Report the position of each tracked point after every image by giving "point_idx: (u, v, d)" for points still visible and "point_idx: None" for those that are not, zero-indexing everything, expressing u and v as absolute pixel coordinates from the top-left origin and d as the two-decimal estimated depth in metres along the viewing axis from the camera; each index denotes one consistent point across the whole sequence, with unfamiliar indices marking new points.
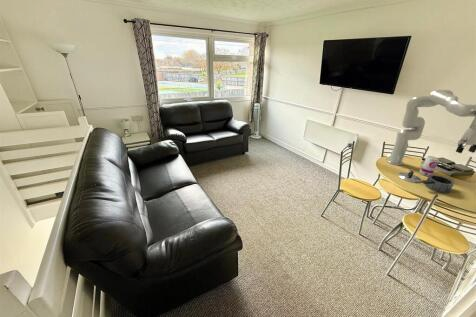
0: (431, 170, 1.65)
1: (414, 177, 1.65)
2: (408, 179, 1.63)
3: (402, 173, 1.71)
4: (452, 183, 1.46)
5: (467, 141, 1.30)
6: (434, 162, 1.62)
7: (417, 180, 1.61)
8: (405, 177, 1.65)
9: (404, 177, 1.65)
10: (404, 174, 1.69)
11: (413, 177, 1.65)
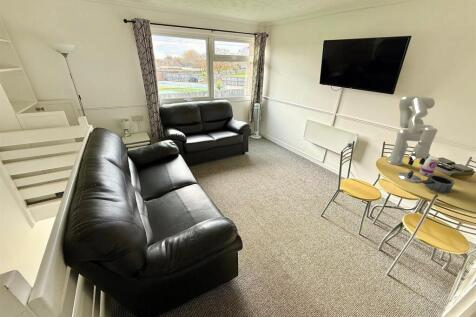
0: (431, 170, 1.65)
1: (414, 177, 1.65)
2: (408, 179, 1.63)
3: (402, 173, 1.71)
4: (452, 183, 1.46)
5: (415, 155, 1.54)
6: (434, 162, 1.62)
7: (417, 180, 1.61)
8: (405, 177, 1.65)
9: (404, 177, 1.65)
10: (404, 174, 1.69)
11: (413, 177, 1.65)
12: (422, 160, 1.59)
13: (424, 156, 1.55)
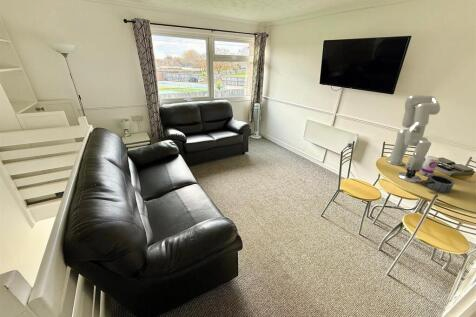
0: (431, 170, 1.65)
1: (414, 177, 1.65)
2: (408, 178, 1.62)
3: (402, 173, 1.70)
4: (452, 183, 1.46)
5: (410, 168, 1.60)
6: (434, 162, 1.62)
7: (417, 180, 1.61)
8: (405, 177, 1.65)
9: (404, 177, 1.65)
10: (405, 174, 1.69)
11: (413, 177, 1.65)
12: None
13: (418, 167, 1.59)
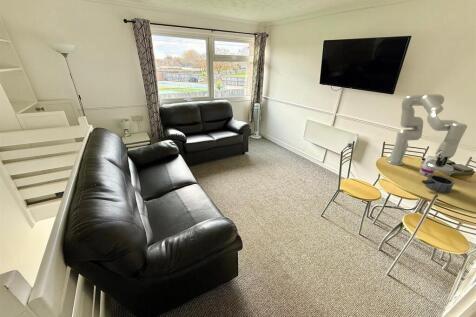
0: (431, 170, 1.65)
1: (445, 165, 1.48)
2: (439, 167, 1.46)
3: (431, 161, 1.54)
4: (452, 183, 1.46)
5: (441, 155, 1.43)
6: None
7: (449, 168, 1.44)
8: (435, 165, 1.48)
9: (434, 165, 1.48)
10: (434, 162, 1.52)
11: None
12: None
13: (451, 154, 1.43)
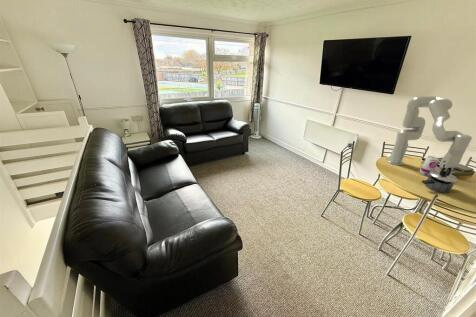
0: (431, 170, 1.65)
1: (449, 176, 1.48)
2: (443, 177, 1.46)
3: (434, 171, 1.54)
4: (452, 183, 1.46)
5: (446, 166, 1.43)
6: (434, 162, 1.62)
7: (453, 179, 1.44)
8: (439, 176, 1.48)
9: (438, 176, 1.48)
10: (438, 172, 1.52)
11: (448, 176, 1.48)
12: None
13: (455, 165, 1.43)
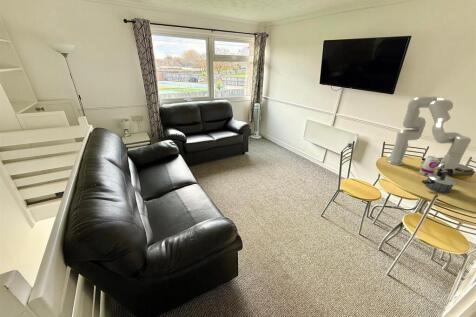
0: (431, 170, 1.65)
1: (447, 178, 1.50)
2: (441, 180, 1.47)
3: (433, 174, 1.55)
4: None
5: (445, 166, 1.43)
6: (434, 162, 1.62)
7: (451, 182, 1.46)
8: (437, 178, 1.49)
9: (436, 178, 1.49)
10: (436, 175, 1.53)
11: (446, 178, 1.50)
12: (450, 171, 1.48)
13: (454, 167, 1.43)
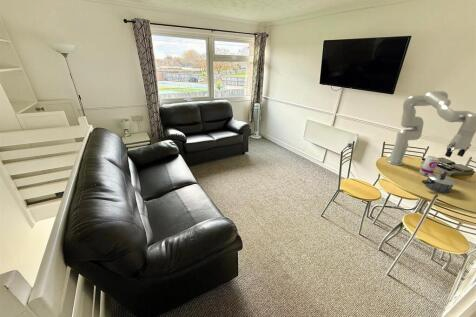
0: (431, 170, 1.65)
1: (447, 178, 1.50)
2: (441, 180, 1.47)
3: (433, 174, 1.55)
4: None
5: (455, 146, 1.36)
6: (434, 162, 1.62)
7: (451, 182, 1.46)
8: (437, 178, 1.49)
9: (436, 178, 1.49)
10: (436, 175, 1.53)
11: (446, 178, 1.50)
12: (461, 151, 1.41)
13: (465, 147, 1.37)
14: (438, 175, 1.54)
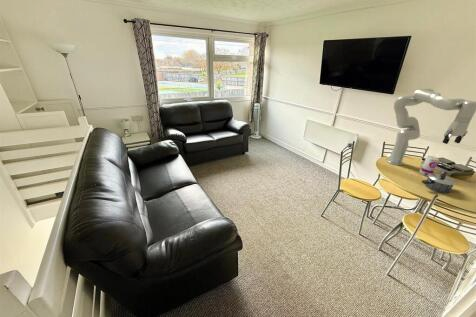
0: (431, 170, 1.65)
1: (447, 178, 1.50)
2: (441, 180, 1.47)
3: (433, 174, 1.55)
4: None
5: (452, 132, 1.42)
6: (434, 162, 1.62)
7: (451, 182, 1.46)
8: (437, 178, 1.49)
9: (436, 178, 1.49)
10: (436, 175, 1.53)
11: (446, 178, 1.50)
12: (458, 138, 1.46)
13: (461, 133, 1.42)
14: (438, 175, 1.54)
